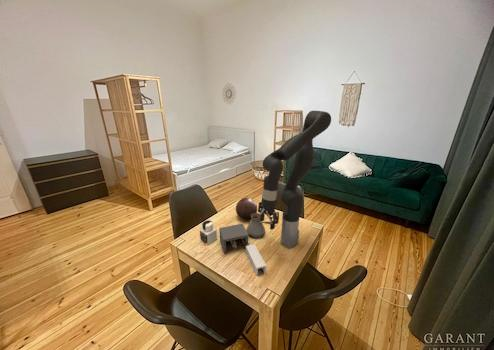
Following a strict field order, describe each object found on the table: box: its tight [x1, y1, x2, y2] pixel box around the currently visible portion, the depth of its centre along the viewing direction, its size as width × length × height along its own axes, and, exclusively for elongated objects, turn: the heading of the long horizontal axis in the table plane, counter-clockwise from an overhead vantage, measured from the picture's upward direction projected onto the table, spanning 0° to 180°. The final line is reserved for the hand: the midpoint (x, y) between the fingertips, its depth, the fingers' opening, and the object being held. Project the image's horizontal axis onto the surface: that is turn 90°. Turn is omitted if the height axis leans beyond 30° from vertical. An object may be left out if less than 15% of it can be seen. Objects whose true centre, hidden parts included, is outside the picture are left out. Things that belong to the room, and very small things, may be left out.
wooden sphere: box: [235, 197, 258, 221], centre depth 141 cm, size 15×15×15 cm
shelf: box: [218, 223, 249, 255], centre depth 116 cm, size 11×14×10 cm
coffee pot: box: [246, 212, 277, 238], centre depth 121 cm, size 21×12×15 cm, turn 44°
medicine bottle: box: [199, 219, 218, 245], centre depth 120 cm, size 7×7×12 cm
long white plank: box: [245, 243, 267, 276], centre depth 104 cm, size 16×5×5 cm, turn 19°
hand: (266, 224), depth 106 cm, fingers open, 8 cm apart
